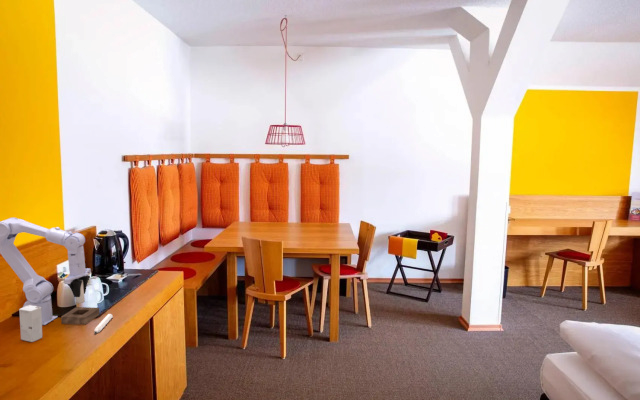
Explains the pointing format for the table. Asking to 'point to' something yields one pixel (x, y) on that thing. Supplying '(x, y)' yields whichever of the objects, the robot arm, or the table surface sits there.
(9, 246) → the robot arm
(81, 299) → the peg
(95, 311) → the brown square frame
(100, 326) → the marker
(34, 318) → the skincare box
